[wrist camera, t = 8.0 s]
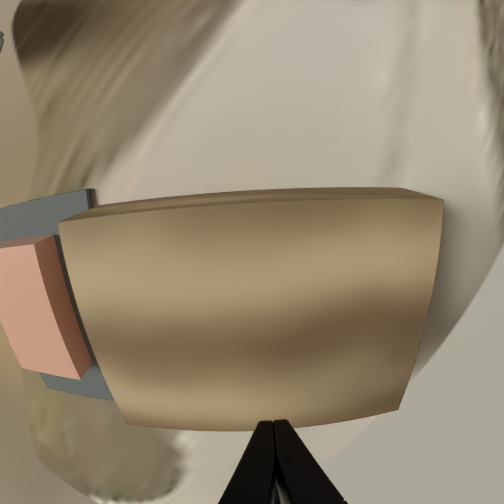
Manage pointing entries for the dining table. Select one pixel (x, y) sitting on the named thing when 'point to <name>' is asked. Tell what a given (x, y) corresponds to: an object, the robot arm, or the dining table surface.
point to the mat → (45, 223)
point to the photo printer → (1, 40)
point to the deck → (256, 302)
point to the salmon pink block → (40, 309)
